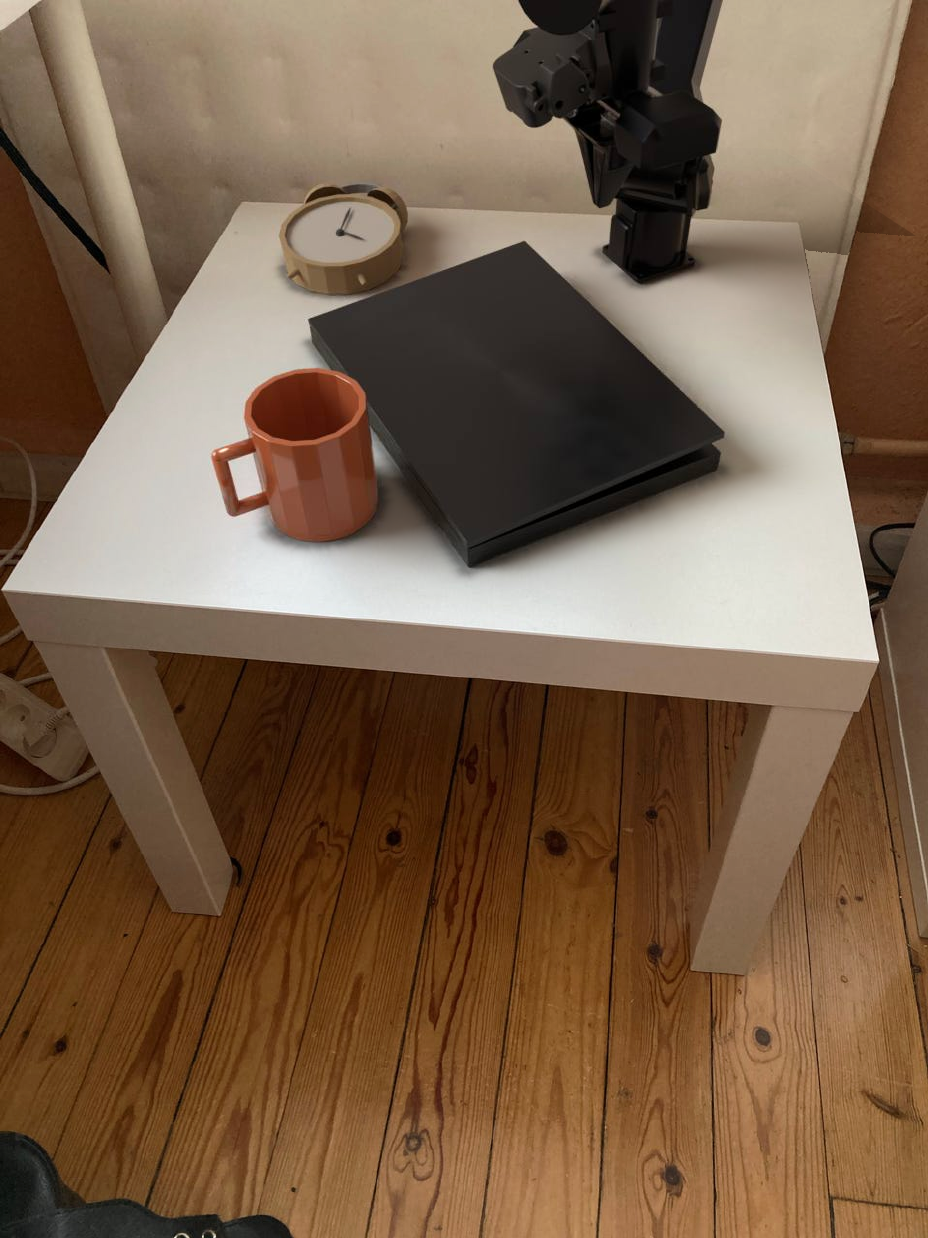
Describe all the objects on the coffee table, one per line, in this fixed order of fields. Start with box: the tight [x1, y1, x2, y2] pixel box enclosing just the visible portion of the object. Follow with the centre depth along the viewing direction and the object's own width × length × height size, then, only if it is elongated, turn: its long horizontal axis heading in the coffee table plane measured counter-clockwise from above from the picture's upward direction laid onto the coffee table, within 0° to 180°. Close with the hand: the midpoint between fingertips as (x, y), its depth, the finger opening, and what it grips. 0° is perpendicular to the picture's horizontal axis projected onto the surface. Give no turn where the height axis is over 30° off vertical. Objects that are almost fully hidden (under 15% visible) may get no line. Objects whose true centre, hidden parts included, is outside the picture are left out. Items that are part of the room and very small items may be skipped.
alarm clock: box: [278, 182, 409, 296], centre depth 96 cm, size 11×5×15 cm
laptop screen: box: [307, 240, 726, 548], centre depth 81 cm, size 21×30×1 cm
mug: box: [210, 367, 380, 543], centre depth 72 cm, size 11×8×9 cm
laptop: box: [309, 325, 722, 568], centre depth 82 cm, size 21×30×2 cm
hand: (601, 205), depth 79 cm, fingers closed
